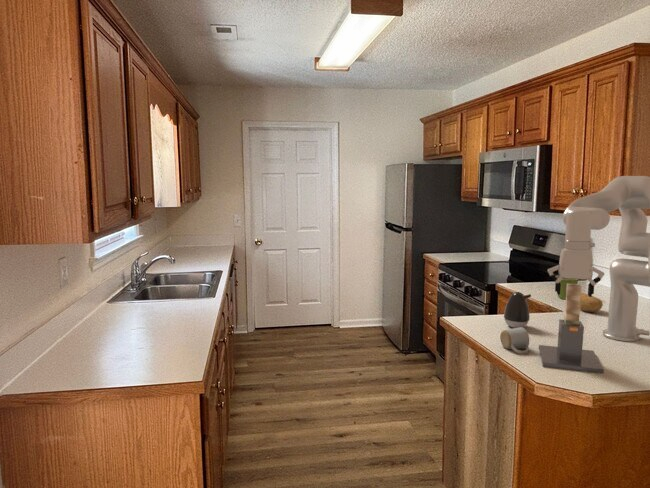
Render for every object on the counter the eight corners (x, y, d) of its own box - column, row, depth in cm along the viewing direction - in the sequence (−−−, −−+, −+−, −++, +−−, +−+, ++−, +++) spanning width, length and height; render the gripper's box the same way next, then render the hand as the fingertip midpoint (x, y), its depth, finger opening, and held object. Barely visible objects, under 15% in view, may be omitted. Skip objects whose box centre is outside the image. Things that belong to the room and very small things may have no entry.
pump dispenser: (531, 331, 200) (534, 295, 198) (505, 329, 202) (507, 294, 200) (526, 323, 210) (528, 289, 208) (501, 322, 212) (503, 288, 210)
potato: (591, 316, 222) (592, 299, 221) (568, 308, 235) (569, 292, 234) (608, 314, 224) (609, 298, 223) (585, 306, 238) (586, 291, 236)
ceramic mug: (498, 345, 183) (499, 325, 182) (517, 343, 185) (518, 324, 184) (514, 355, 173) (515, 335, 172) (534, 354, 175) (536, 333, 174)
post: (576, 336, 168) (579, 284, 166) (577, 340, 165) (581, 286, 162) (563, 335, 170) (566, 283, 167) (564, 338, 166) (568, 285, 163)
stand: (592, 354, 174) (595, 318, 172) (602, 373, 157) (606, 333, 155) (538, 348, 180) (540, 313, 178) (542, 366, 163) (545, 327, 161)
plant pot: (578, 297, 256) (580, 276, 255) (576, 302, 246) (578, 280, 245) (554, 294, 262) (556, 274, 261) (551, 299, 253) (552, 278, 251)
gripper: (603, 245, 163) (600, 294, 166) (548, 243, 169) (545, 290, 172) (608, 248, 156) (604, 299, 159) (550, 246, 162) (547, 295, 165)
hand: (573, 294), depth 165 cm, fingers open, 9 cm apart
